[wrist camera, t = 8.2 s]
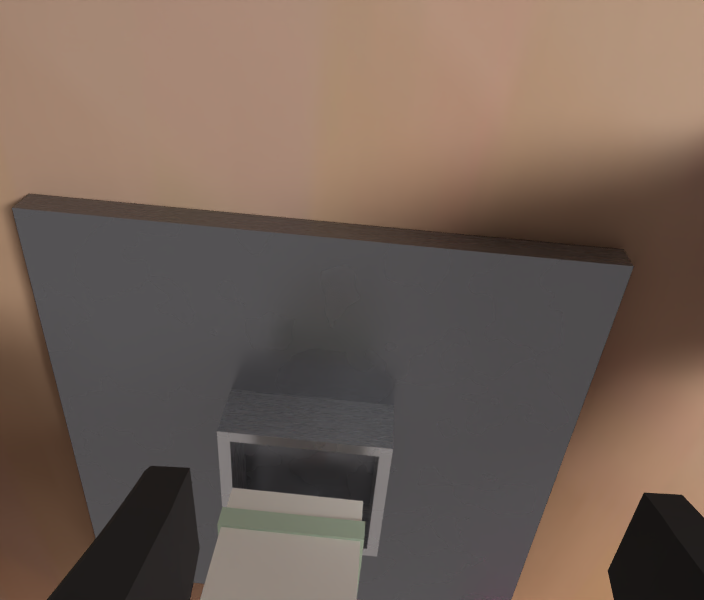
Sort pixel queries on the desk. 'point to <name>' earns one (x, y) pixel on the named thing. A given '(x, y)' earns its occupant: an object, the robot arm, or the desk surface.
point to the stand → (325, 372)
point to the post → (286, 548)
